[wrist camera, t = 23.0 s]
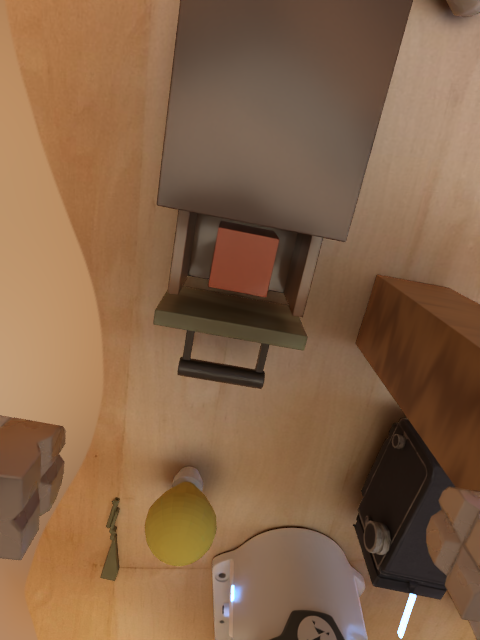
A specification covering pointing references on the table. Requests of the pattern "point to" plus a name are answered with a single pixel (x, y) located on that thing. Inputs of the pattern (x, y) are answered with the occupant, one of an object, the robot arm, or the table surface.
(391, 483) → the camera
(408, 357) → the stand
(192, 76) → the cabinet
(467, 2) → the mug
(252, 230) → the block
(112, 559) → the toy shotgun
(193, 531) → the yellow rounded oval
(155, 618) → the table surface
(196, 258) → the drawer
